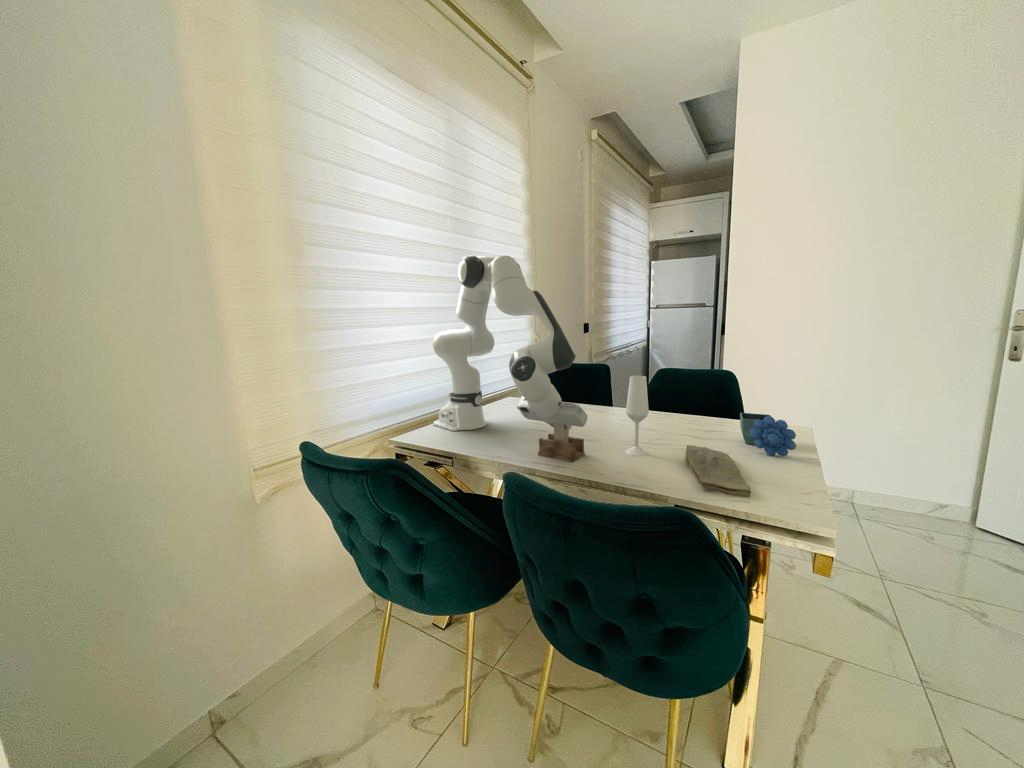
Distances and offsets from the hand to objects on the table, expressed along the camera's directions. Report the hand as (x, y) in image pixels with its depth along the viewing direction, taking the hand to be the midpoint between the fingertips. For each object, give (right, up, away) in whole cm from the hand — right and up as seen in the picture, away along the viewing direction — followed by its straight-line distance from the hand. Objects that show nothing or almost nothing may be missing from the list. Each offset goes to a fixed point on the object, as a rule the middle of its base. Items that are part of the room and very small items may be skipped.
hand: (561, 426), depth 122 cm
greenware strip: (0, -6, +1) cm, 6 cm away
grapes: (+62, -9, -5) cm, 62 cm away
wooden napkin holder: (0, -9, +1) cm, 9 cm away
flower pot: (+64, -6, +7) cm, 65 cm away
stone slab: (+39, -11, -15) cm, 43 cm away
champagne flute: (+24, -8, +2) cm, 25 cm away
